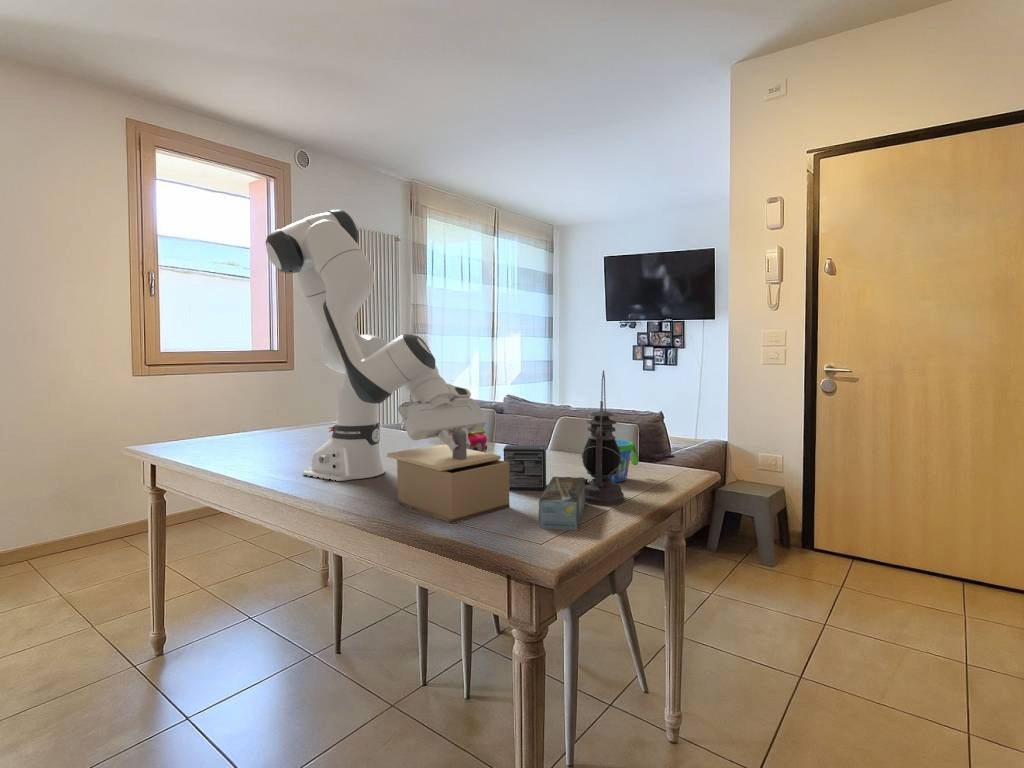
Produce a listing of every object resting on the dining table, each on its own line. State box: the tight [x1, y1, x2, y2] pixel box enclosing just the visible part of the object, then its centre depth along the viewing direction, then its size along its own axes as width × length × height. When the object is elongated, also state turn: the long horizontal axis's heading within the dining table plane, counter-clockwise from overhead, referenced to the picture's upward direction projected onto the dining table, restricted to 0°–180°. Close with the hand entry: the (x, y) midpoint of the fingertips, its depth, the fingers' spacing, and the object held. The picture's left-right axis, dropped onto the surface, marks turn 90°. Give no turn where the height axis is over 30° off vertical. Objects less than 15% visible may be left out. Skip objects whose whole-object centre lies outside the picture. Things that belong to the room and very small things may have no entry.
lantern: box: [581, 370, 625, 506], centre depth 125 cm, size 12×11×30 cm
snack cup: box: [608, 439, 639, 483], centre depth 143 cm, size 16×10×10 cm
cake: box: [449, 429, 488, 453], centre depth 150 cm, size 10×11×15 cm
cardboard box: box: [396, 459, 510, 524], centre depth 121 cm, size 20×16×10 cm
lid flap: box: [386, 432, 502, 471], centre depth 123 cm, size 21×17×6 cm
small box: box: [503, 444, 547, 491], centre depth 136 cm, size 11×6×10 cm, turn 84°
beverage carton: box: [538, 476, 586, 531], centre depth 114 cm, size 8×19×7 cm, turn 167°
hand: (461, 447), depth 118 cm, fingers closed
